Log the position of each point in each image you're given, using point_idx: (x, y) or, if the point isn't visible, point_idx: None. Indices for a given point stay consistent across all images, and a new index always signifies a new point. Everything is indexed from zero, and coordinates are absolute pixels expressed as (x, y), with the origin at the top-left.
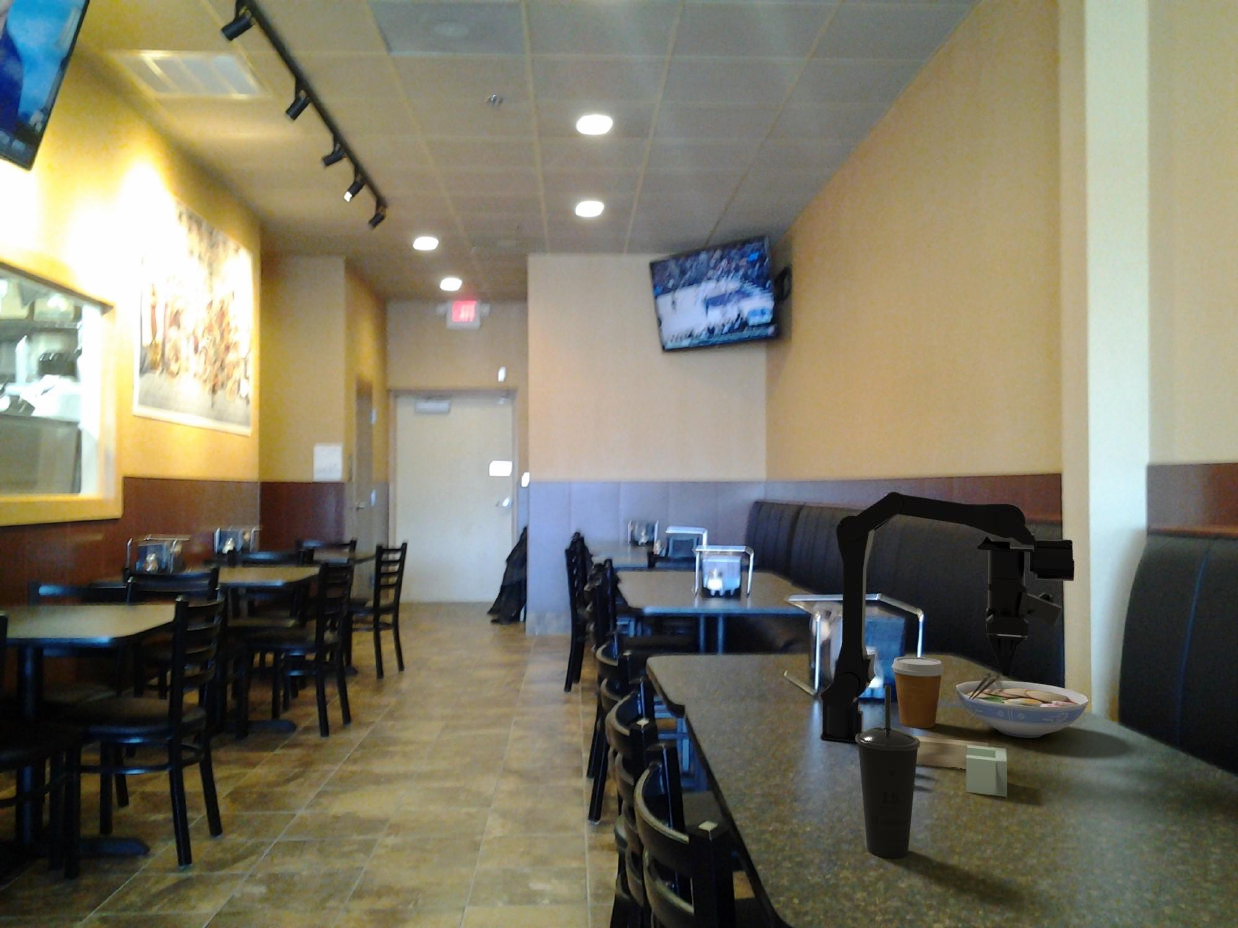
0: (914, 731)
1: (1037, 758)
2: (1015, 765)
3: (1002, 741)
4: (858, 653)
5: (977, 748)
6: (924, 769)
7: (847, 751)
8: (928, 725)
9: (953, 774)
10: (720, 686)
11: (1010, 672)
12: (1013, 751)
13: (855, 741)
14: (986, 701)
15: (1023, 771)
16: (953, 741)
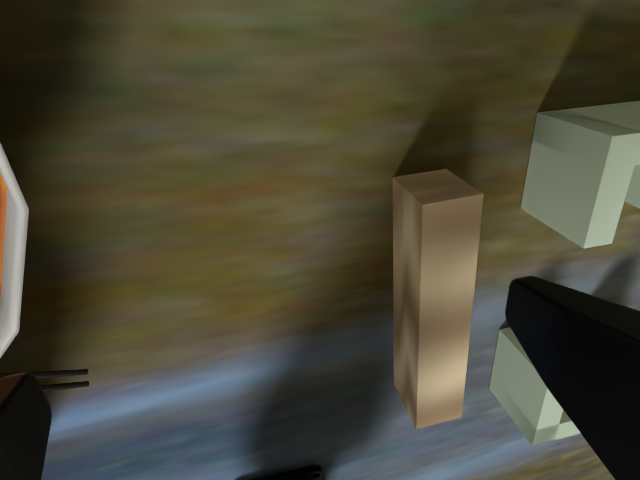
0: (94, 420)
1: (209, 25)
2: (350, 99)
3: None
4: None
5: (619, 216)
6: (479, 302)
7: (393, 452)
8: None
9: (502, 241)
10: None
11: (554, 284)
12: (154, 122)
13: (321, 469)
14: (18, 318)
15: (412, 69)
16: (441, 294)
